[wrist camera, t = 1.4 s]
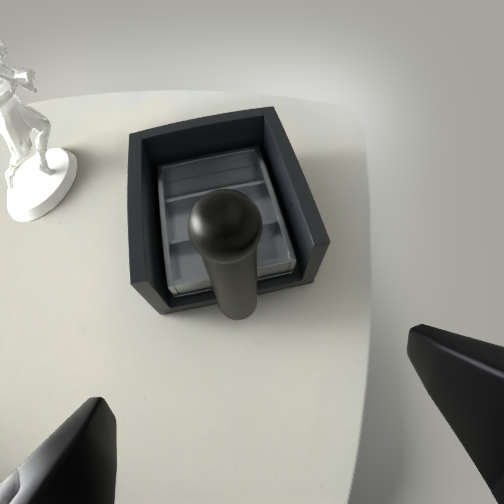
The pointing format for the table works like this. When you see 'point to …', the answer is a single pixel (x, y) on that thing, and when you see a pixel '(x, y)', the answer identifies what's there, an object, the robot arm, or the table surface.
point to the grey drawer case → (204, 143)
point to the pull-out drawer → (222, 228)
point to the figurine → (41, 164)
